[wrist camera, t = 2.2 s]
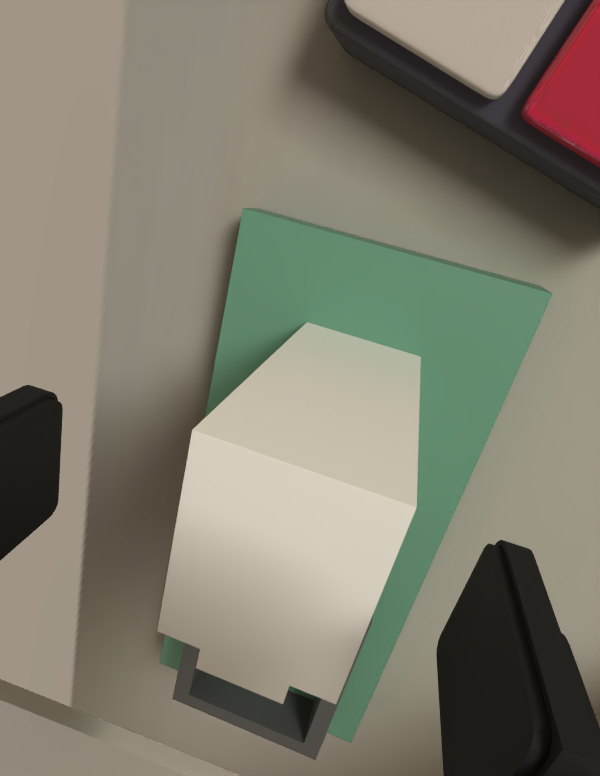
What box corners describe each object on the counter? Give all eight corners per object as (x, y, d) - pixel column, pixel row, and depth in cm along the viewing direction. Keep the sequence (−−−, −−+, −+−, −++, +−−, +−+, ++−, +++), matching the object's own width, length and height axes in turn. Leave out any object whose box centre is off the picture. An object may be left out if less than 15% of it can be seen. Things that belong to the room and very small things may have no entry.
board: (257, 208, 17) (219, 207, 14) (541, 286, 16) (571, 305, 13) (173, 638, 26) (138, 699, 23) (354, 712, 24) (344, 788, 21)
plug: (306, 322, 17) (191, 429, 8) (420, 356, 16) (416, 507, 8) (272, 458, 19) (153, 650, 11) (371, 493, 18) (327, 722, 10)
